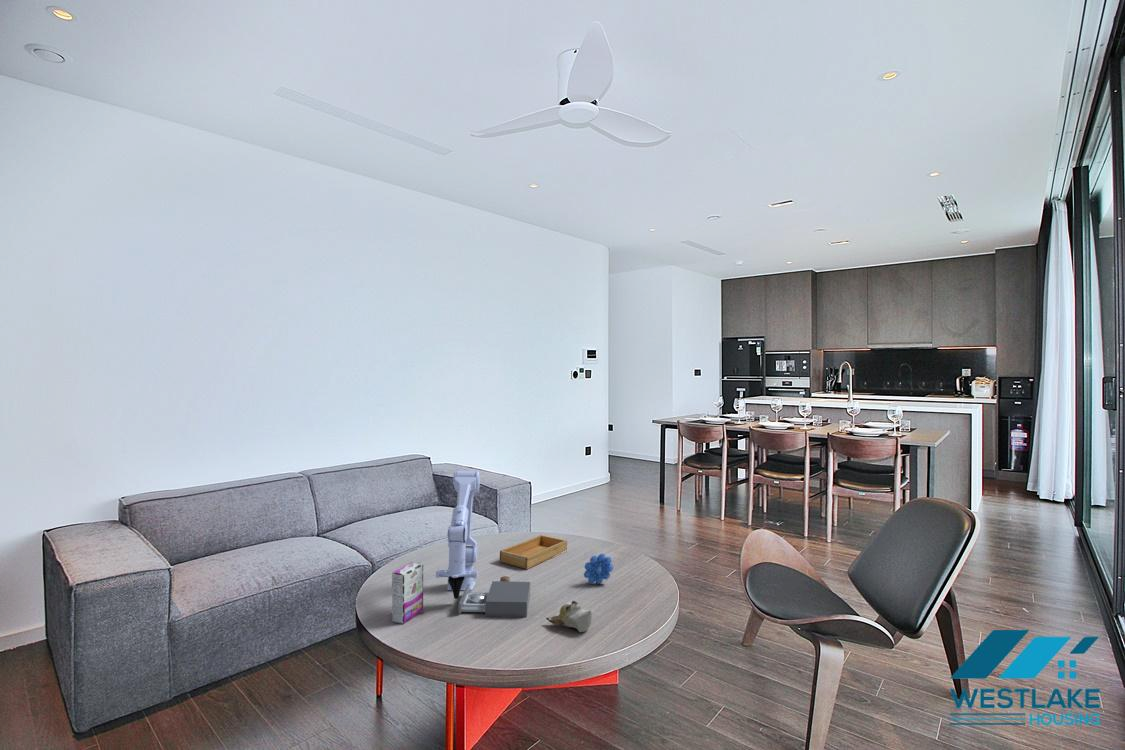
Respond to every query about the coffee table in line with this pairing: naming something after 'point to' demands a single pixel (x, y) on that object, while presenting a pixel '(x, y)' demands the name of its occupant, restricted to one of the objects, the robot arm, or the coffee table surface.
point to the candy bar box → (407, 592)
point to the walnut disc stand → (505, 578)
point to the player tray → (467, 605)
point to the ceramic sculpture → (573, 617)
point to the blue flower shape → (598, 569)
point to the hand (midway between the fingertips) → (456, 597)
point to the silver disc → (477, 598)
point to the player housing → (508, 599)
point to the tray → (532, 551)
